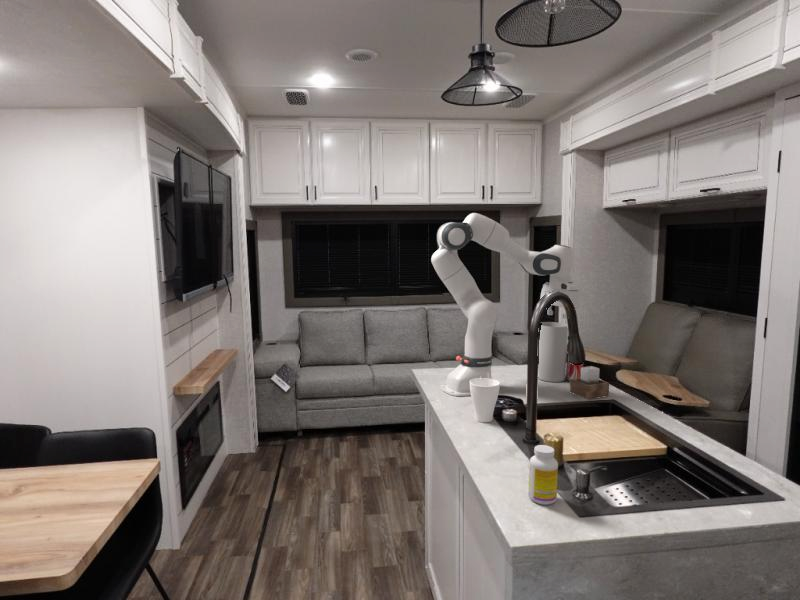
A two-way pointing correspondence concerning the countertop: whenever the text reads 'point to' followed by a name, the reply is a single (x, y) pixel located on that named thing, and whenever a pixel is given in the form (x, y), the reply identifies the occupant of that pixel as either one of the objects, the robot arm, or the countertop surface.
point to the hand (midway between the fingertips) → (557, 316)
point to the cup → (484, 397)
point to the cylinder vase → (553, 351)
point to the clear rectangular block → (589, 375)
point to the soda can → (573, 371)
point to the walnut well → (589, 389)
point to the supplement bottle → (543, 476)
